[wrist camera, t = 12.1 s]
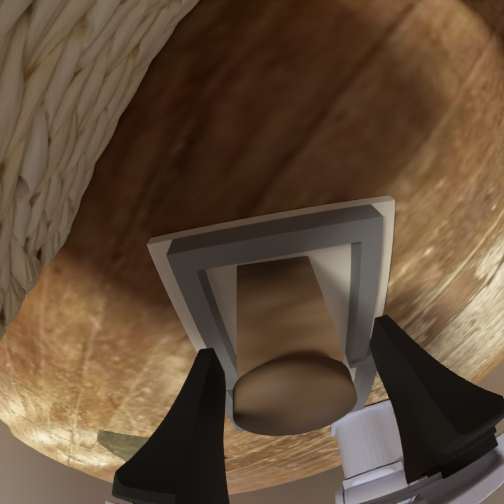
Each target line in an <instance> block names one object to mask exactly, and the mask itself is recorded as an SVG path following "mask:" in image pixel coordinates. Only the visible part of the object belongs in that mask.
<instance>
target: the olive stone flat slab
mask: <svg viewBox="0 0 504 504" xmlns="http://www.w3.org/2000/svg"><path fill="white" fill-rule="evenodd" d="M148 439H149V438H147V437H139V436H132V435H126V434H120V433H114V432H108V431H103V430H99V432H98V436H97V442H98V443H100V444H101V445H102V446H104V447H105V448H107V449H108V450H109V451H110V452H112V453H113V454H114V455H116V456H118V457H119V458H121V459H123V460H124V461H126V462H127V461H128V460H129V459H130V458H131V457H132V456H133V455H135V453H136V452H137V451H138V450H139V449H140V448H141V447H142V446H143V445H144V444H145V443H146V442H147V441H148Z"/></svg>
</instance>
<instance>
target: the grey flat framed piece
mask: <svg viewBox="0 0 504 504" xmlns="http://www.w3.org/2000/svg"><path fill="white" fill-rule="evenodd" d="M394 215H395V200H394V199H393V198H392V197H390V196H389V195H387V196H380V197H372V198H366V199H359V200H352V201H345V202H339V203H332V204H326V205H320V206H314V207H308V208H302V209H296V210H290V211H284V212H279V213H273V214H267V215H262V216H256V217H251V218H246V219H240V220H235V221H230V222H225V223H220V224H214V225H209V226H205V227H200V228H195V229H190V230H185V231H180V232H176V233H171V234H166V235H162V236H157V237H152V238H150V239H149V241H148V243H147V247H148V250H149V252H150V255H151V257H152V259H153V262H154V264H155V267H156V269H157V271H158V273H159V276H160V278H161V280H162V282H163V285H164V287H165V289H166V291H167V294H168V296H169V298H170V300H171V302H172V304H173V306H174V308H175V311H176V313H177V315H178V317H179V319H180V321H181V323H182V325H183V327H184V329H185V331H186V333H187V335H188V337H189V339H190V341H191V343H192V344H193V346H194V348H195V350H196V352H197V353H198V351H199V350H200V349H205V348H214V350H215V352H216V355H217V357H218V359H219V361H220V363H221V365H222V367H223V369H224V372H225V379H226V404H225V412H226V414H227V415H228V417H229V418H230V420H231V421H232V423H233V424H234V426H235V427H236V429H237V430H238V431H245V430H243V429H242V428H240V427H238V426H237V425H236V424H235V422H234V421H233V387H234V385H235V383H236V382H237V380H238V379H239V377H238V374H237V265H244V264H252V263H259V262H266V261H273V260H280V259H287V258H294V257H301V256H308V257H309V260H310V262H311V265H312V268H313V270H314V273H315V275H316V278H317V281H318V283H319V286H320V289H321V291H322V294H323V297H324V300H325V302H326V305H327V308H328V311H329V313H330V316H331V319H332V322H333V325H334V327H335V330H336V333H337V336H338V339H339V342H340V345H341V348H342V351H343V354H344V358H343V364H345V365H346V366H347V367H348V369H349V371H350V374H351V377H352V380H353V383H354V387H355V390H356V393H357V398H358V400H357V403H356V405H355V407H354V408H353V409H352V410H351V411H350V412H354V411H358V410H361V409H364V407H365V404H366V401H367V399H368V396H369V393H370V390H371V387H372V383H373V380H374V377H375V374H376V370H377V368H376V366H375V363H374V359H373V356H372V353H371V349H370V341H371V336H372V331H373V325H374V319H375V318H376V317H380V316H382V315H383V310H384V304H385V298H386V292H387V285H388V278H389V271H390V262H391V253H392V243H393V231H394ZM350 412H349V413H350Z"/></svg>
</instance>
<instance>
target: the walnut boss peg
mask: <svg viewBox="0 0 504 504" xmlns="http://www.w3.org/2000/svg"><path fill="white" fill-rule="evenodd" d="M343 358H344V354H343V351H342V348H341V345H340V342H339V339H338V336H337V333H336V330H335V327H334V325H333V322H332V319H331V316H330V313H329V311H328V308H327V305H326V302H325V300H324V297H323V294H322V291H321V289H320V286H319V283H318V281H317V278H316V275H315V273H314V270H313V268H312V265H311V262H310V260H309V257H308V256H301V257H294V258H287V259H280V260H273V261H266V262H259V263H252V264H244V265H237V374H238V377H239V379H238V380H237V382H236V383H235V385H234V387H233V421H234V422H235V424H236V425H237V426H238V427H240V428H242V429H243V430H246V431H248V432H251V433H255V434H261V435H269V436H285V435H295V434H301V433H306V432H310V431H314V430H317V429H320V428H323V427H325V426H328V425H330V424H332V423H334V422H336V421H338V420H340V419H341V418H343V417H344V416H346V415H347V414H348V413H349V412H350V411H351V410H352V409H353V408H354V407H355V405H356V403H357V400H358V398H357V393H356V390H355V387H354V383H353V380H352V377H351V374H350V371H349V369H348V367H347V366H346V365H345V364H343Z"/></svg>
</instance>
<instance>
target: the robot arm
mask: <svg viewBox="0 0 504 504" xmlns="http://www.w3.org/2000/svg"><path fill="white" fill-rule="evenodd" d="M370 349H371V353H372V356H373V359H374V363H375V366H376V368H377V371H378V373H379V375H380V378H381V380H382V382H383V385H384V387H385V389H386V392H387V394H388V397H389V399H390V400H387V401H384V402H381V403H377V404H374V405H371V406H367V407H364V409H361V410H358V411H354V412H350V413H348V414H347V415H346V416H344V417H343V418H341V419H340V420H338V421H336V422H334V423H332V425H331V431H330V436H336V437H337V441H338V446H339V451H340V456H341V460H342V465H343V470H344V475H345V480H344V481H343V485H341V486H340V487H339V488H338V490H337V491H336V497H335V500H336V504H478V503H480V502H481V501H482V500H484V499H485V498H486V497H487V496H489V495H490V494H491V493H492V492H493V491H495V490H496V489H497V488H498V487H499V486H500V485H502V483H504V432H502V433H501V434H500V435H498V436H497V437H496V438H495V435H494V433H496V428H495V425H496V424H497V423H498V422H500V421H501V420H502V419H503V418H504V398H503V396H501V395H498V394H495V393H493V392H490V391H487V390H485V389H483V388H481V387H478V386H476V385H474V384H472V383H471V382H469V381H467V380H465V379H464V378H462V377H460V376H458V375H457V374H455V373H454V372H452V371H451V370H449V369H448V368H446V367H445V366H444V365H442V364H441V363H439V362H438V361H437V360H436V359H434V358H433V357H432V356H431V355H430V354H428V353H427V352H426V351H425V350H424V349H423V348H421V347H420V346H419V345H418V344H417V343H416V342H415V341H414V340H413V339H412V338H411V337H410V336H408V335H407V334H406V333H405V332H404V331H403V330H402V329H401V328H400V327H399V326H398V325H397V324H396V323H395V322H394V321H393V320H392V319H391V318H390V317H389V316H388V315H383V316H380V317H376V318H375V319H374V325H373V331H372V336H371V341H370ZM225 404H226V379H225V372H224V369H223V367H222V365H221V363H220V361H219V359H218V357H217V355H216V352H215V350H214V348H205V349H200V350H199V351H198V353H197V356H196V358H195V361H194V363H193V365H192V368H191V370H190V372H189V374H188V377H187V379H186V381H185V383H184V385H183V387H182V389H181V391H180V393H179V395H178V396H177V398H176V400H175V402H174V403H173V405H172V407H171V409H170V410H169V412H168V413H167V415H166V417H165V418H164V420H163V421H162V422H161V424H160V425H159V427H158V428H157V429H156V431H155V432H154V433H153V434H152V436H151V437H150V438H149V439H148V441H147V442H146V443H145V444H144V445H143V446H142V447H141V448H140V449H139V450H138V451H137V452H136V453H135V455H133V456H132V457H131V458H130V459H129V460H128V461H127V462H126V463H125V464H124V465H122V466H121V467H120V468H119V469H118V470H117V471H116V472H115V476H114V482H113V490H112V495H113V496H114V497H116V498H119V499H122V500H125V501H128V502H131V503H133V504H230V503H229V498H228V490H227V482H226V473H225V461H224V445H223V433H224V419H225ZM403 461H404V464H402V462H403ZM403 466H404V468H403ZM426 476H428V478H427V479H425V480H422V481H420V482H418V480H419V479H422V478H424V477H426ZM105 504H118V503H114V502H110V501H105Z"/></svg>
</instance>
